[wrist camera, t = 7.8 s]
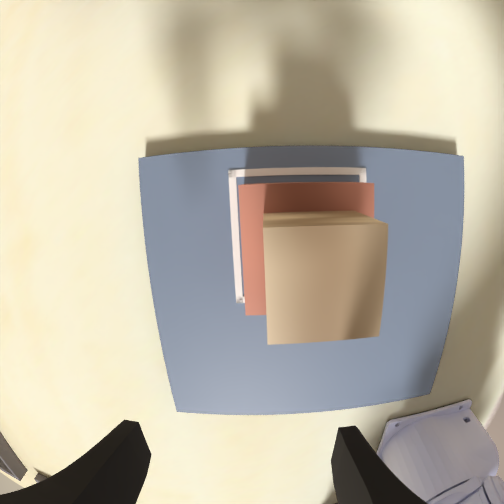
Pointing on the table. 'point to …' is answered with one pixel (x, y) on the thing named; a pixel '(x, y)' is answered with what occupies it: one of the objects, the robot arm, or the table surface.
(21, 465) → the grey tray
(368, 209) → the base block
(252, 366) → the board
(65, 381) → the table surface
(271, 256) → the maple cube
